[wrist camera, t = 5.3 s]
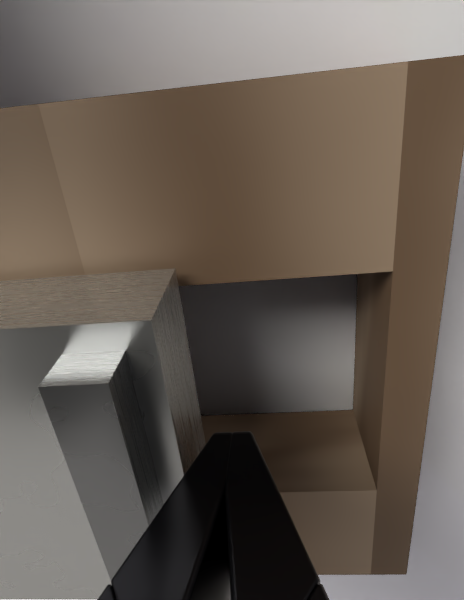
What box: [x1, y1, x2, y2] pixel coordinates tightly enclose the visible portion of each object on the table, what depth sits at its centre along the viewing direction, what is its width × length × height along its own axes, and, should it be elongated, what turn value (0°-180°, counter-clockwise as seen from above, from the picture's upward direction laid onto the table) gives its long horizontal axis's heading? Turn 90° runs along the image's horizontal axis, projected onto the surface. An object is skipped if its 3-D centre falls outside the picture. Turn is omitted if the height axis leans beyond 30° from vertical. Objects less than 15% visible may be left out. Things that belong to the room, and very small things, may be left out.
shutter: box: [0, 268, 206, 599], centre depth 9 cm, size 7×7×3 cm
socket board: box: [0, 55, 464, 575], centre depth 11 cm, size 16×13×3 cm
